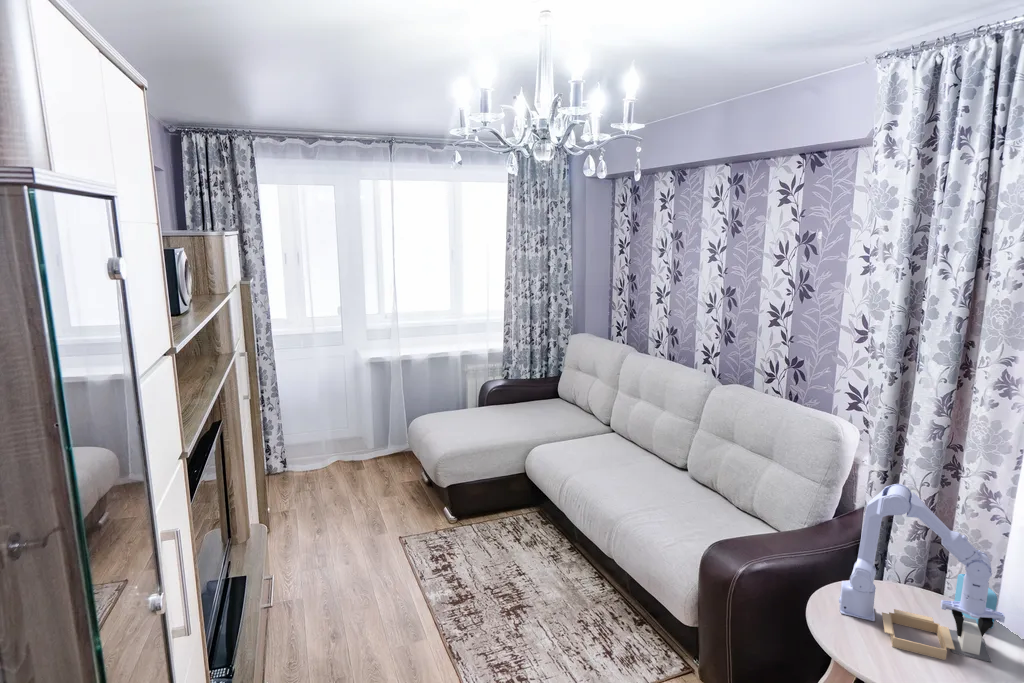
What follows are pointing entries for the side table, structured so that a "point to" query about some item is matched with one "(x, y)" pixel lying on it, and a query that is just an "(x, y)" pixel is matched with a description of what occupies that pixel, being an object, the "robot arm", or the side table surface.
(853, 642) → the side table surface
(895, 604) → the side table surface
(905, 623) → the carton
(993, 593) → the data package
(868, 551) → the robot arm
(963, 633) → the capped box
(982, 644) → the mat
